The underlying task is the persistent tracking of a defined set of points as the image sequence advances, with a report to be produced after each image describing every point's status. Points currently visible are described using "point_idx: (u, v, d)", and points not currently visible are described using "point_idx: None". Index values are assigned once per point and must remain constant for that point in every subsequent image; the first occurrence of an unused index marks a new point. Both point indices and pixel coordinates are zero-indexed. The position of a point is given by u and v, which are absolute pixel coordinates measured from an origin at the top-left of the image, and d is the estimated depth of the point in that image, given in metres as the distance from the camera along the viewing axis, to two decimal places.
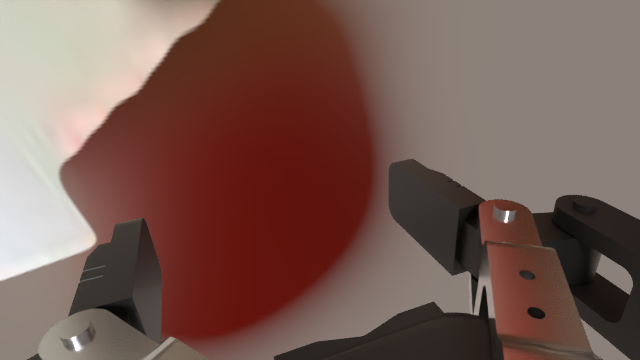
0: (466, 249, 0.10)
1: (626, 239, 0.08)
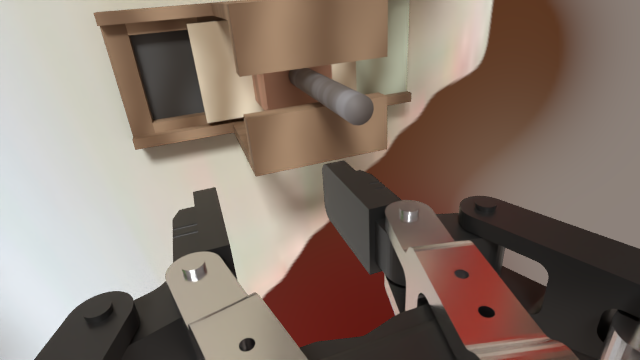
0: (378, 249, 0.11)
1: (533, 234, 0.09)
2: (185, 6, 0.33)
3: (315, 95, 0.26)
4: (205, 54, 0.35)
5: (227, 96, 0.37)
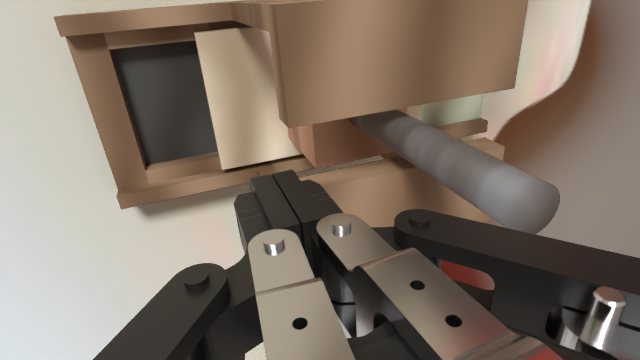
0: (315, 263, 0.10)
1: (473, 243, 0.08)
2: (192, 7, 0.22)
3: (413, 158, 0.16)
4: (221, 76, 0.24)
5: (250, 133, 0.26)
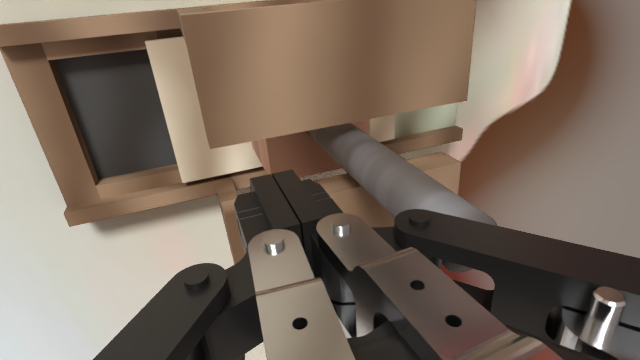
0: (315, 263, 0.10)
1: (473, 243, 0.08)
2: (135, 14, 0.21)
3: (357, 177, 0.15)
4: (176, 86, 0.23)
5: None
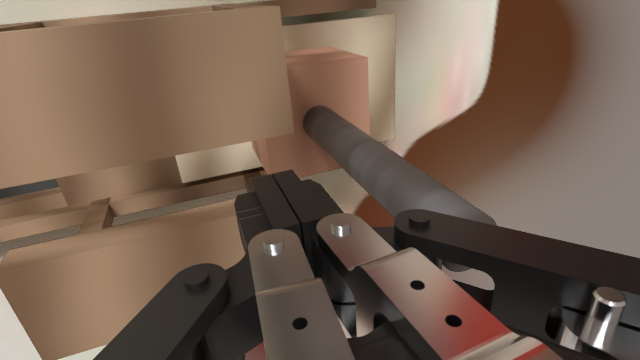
0: (315, 263, 0.10)
1: (473, 243, 0.08)
2: None
3: (357, 177, 0.15)
4: None
5: None
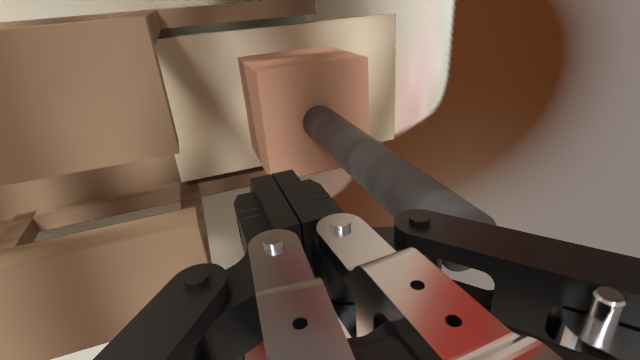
0: (315, 263, 0.10)
1: (473, 243, 0.08)
2: None
3: (357, 176, 0.15)
4: (175, 85, 0.23)
5: (210, 144, 0.25)
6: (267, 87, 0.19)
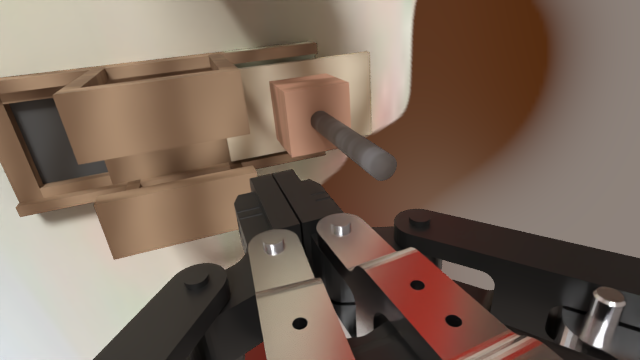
0: (315, 263, 0.10)
1: (473, 243, 0.08)
2: (60, 74, 0.32)
3: (339, 146, 0.29)
4: None
5: (250, 136, 0.39)
6: (290, 100, 0.33)
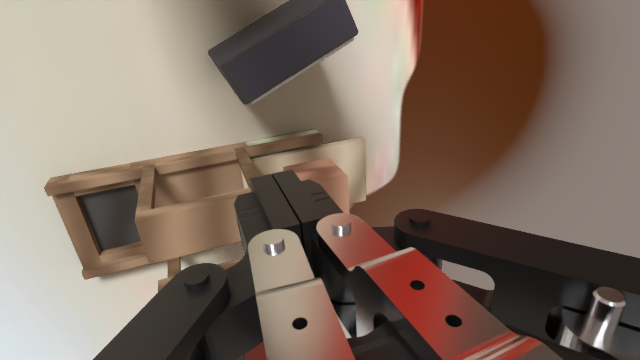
0: (315, 263, 0.10)
1: (473, 243, 0.08)
2: (121, 173, 0.41)
3: None
4: None
5: None
6: None
